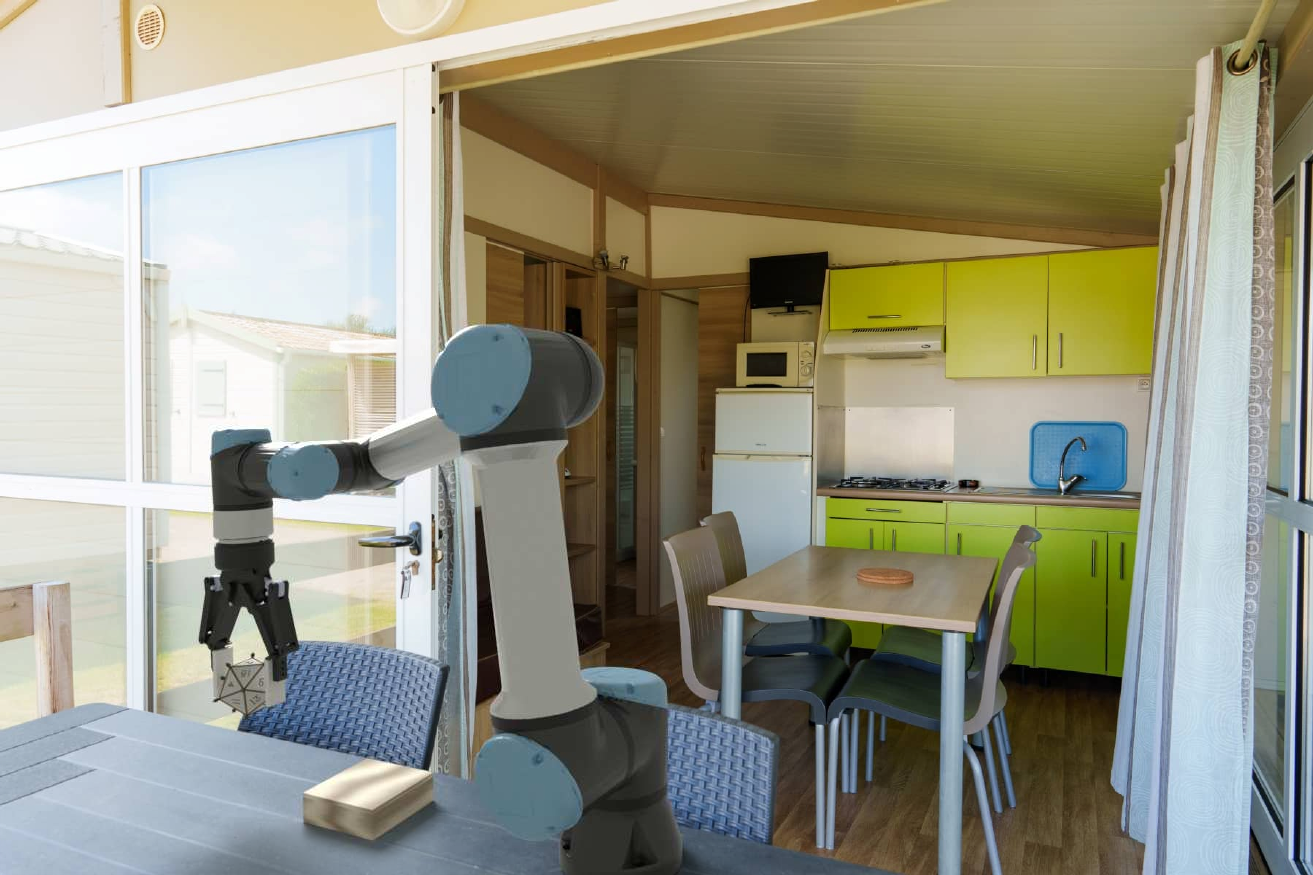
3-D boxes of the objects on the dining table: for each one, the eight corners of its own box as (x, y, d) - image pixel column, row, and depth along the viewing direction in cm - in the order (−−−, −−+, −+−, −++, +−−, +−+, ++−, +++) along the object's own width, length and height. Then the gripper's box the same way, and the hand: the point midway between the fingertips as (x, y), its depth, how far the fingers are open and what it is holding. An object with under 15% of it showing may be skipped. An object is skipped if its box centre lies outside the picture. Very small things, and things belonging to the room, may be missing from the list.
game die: (240, 746, 116) (189, 700, 112) (250, 704, 124) (203, 660, 119) (297, 712, 117) (248, 665, 112) (304, 673, 124) (259, 627, 120)
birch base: (433, 800, 120) (433, 772, 119) (372, 840, 109) (372, 809, 109) (367, 784, 125) (367, 758, 124) (303, 821, 114) (302, 792, 113)
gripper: (325, 538, 116) (329, 700, 117) (212, 531, 125) (217, 681, 126) (280, 547, 110) (285, 718, 110) (165, 538, 119) (170, 697, 119)
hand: (249, 698), depth 118 cm, fingers closed on game die, 9 cm apart
